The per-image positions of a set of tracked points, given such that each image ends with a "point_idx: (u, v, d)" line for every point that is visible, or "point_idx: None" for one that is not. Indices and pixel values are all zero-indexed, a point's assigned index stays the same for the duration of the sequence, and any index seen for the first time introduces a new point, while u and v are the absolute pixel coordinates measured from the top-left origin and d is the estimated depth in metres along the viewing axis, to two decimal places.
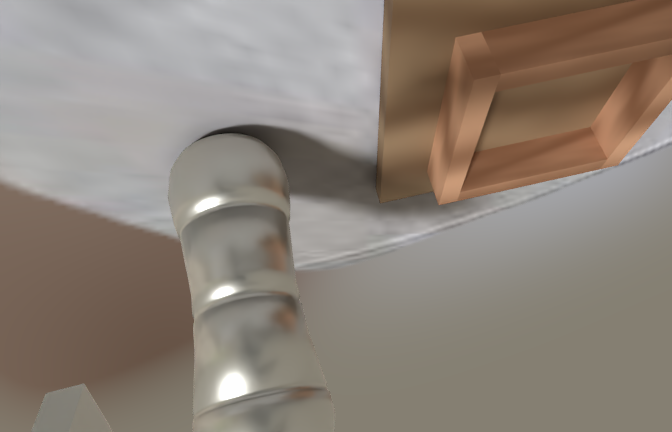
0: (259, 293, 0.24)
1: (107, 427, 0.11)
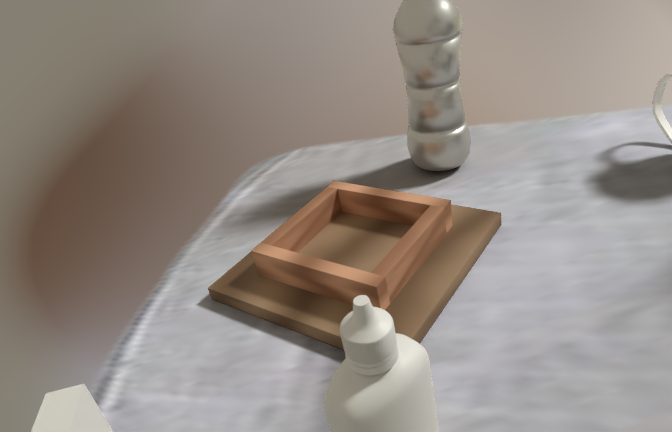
0: (450, 84, 0.51)
1: (107, 427, 0.11)
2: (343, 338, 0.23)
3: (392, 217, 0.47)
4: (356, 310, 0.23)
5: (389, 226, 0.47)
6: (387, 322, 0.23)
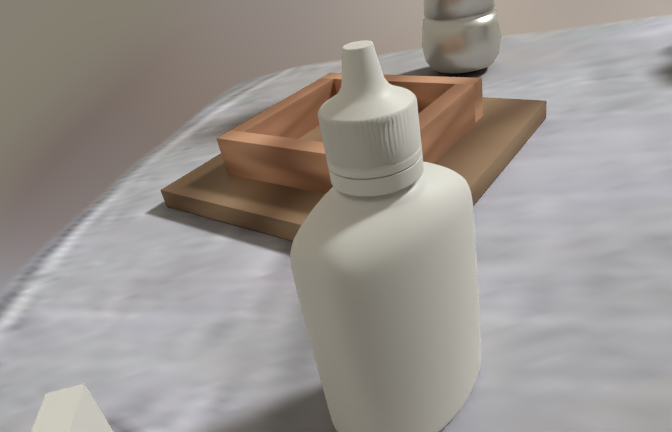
0: None
1: (108, 427, 0.11)
2: (324, 124, 0.13)
3: None
4: (348, 61, 0.12)
5: None
6: (405, 94, 0.13)
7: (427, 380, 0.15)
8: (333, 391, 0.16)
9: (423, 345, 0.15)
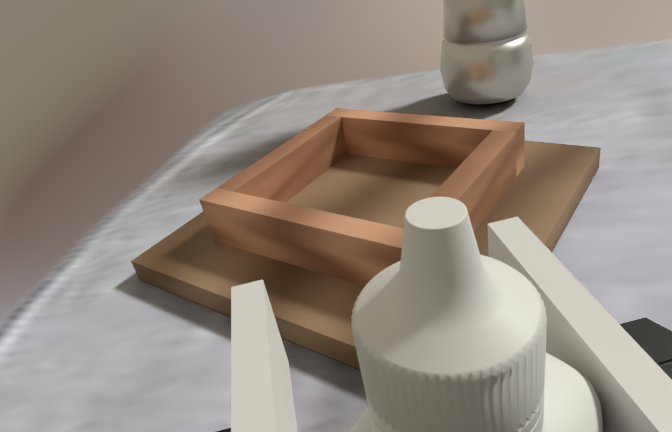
0: None
1: (273, 322, 0.13)
2: (365, 355, 0.07)
3: (427, 157, 0.30)
4: (418, 249, 0.06)
5: (421, 170, 0.30)
6: (524, 298, 0.06)
7: None
8: None
9: None
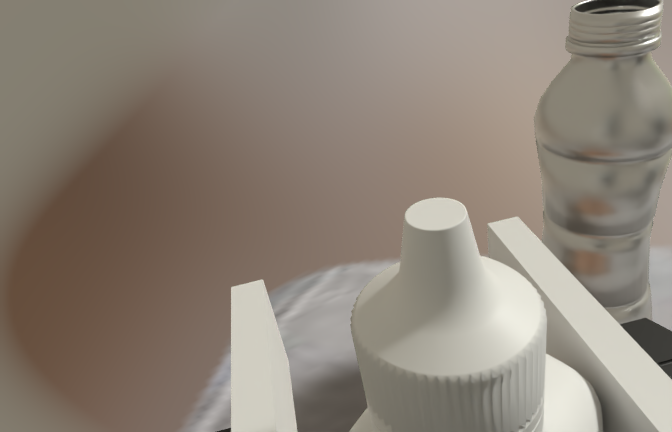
0: (640, 228, 0.27)
1: (274, 322, 0.13)
2: (364, 356, 0.07)
3: None
4: (418, 250, 0.06)
5: None
6: (524, 300, 0.06)
7: None
8: None
9: None
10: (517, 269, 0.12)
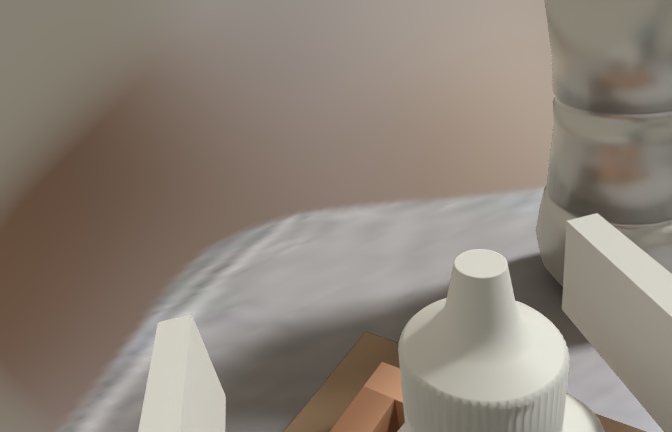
0: None
1: (207, 357, 0.12)
2: (412, 381, 0.08)
3: None
4: (466, 293, 0.07)
5: None
6: (550, 339, 0.08)
7: None
8: None
9: None
10: (606, 267, 0.11)
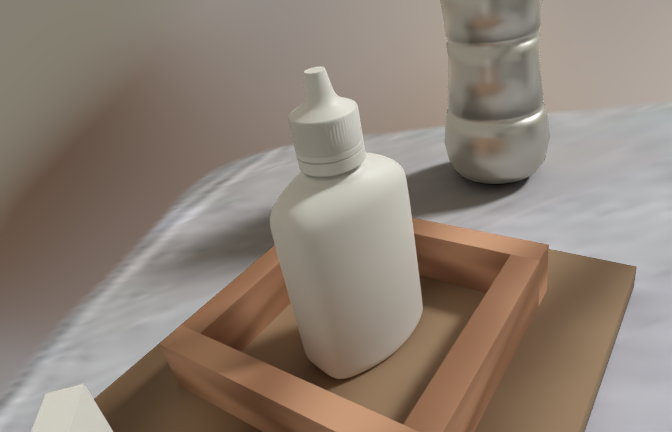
0: (526, 37, 0.30)
1: (108, 427, 0.11)
2: (292, 125, 0.18)
3: (431, 270, 0.26)
4: (307, 81, 0.17)
5: (425, 287, 0.26)
6: (349, 104, 0.18)
7: (373, 315, 0.21)
8: (304, 324, 0.21)
9: (368, 287, 0.20)
10: None
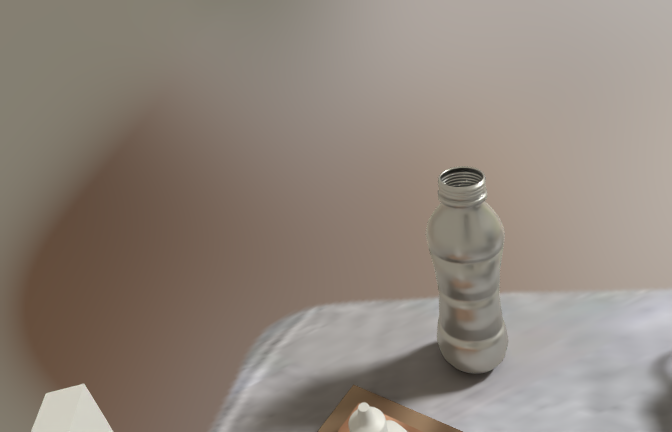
0: (489, 295, 0.46)
1: (108, 427, 0.11)
2: (350, 431, 0.34)
3: None
4: (360, 414, 0.33)
5: None
6: (381, 421, 0.34)
7: None
8: None
9: None
10: None
